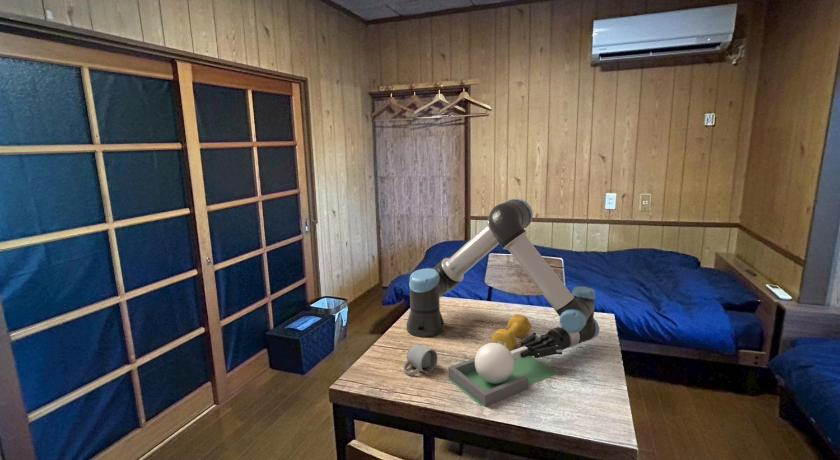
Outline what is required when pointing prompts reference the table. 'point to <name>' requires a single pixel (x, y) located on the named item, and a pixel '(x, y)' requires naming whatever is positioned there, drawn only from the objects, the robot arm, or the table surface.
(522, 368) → the green mat
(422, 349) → the ceramic mug
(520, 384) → the grey open tray
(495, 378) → the ball
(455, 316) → the table surface
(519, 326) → the dumbbell
